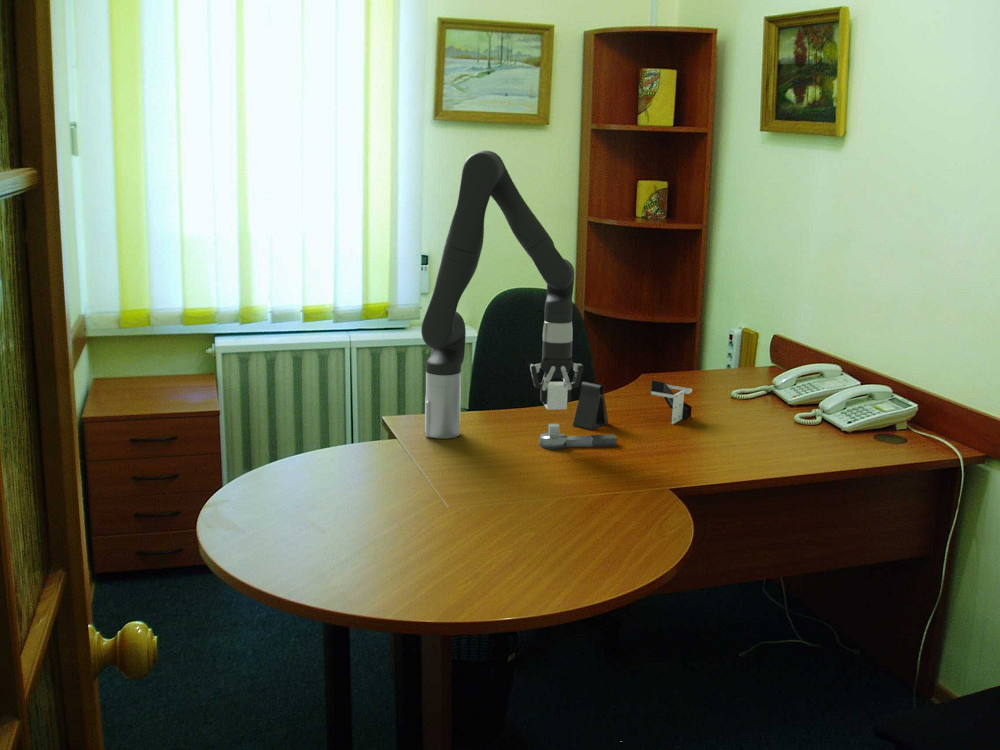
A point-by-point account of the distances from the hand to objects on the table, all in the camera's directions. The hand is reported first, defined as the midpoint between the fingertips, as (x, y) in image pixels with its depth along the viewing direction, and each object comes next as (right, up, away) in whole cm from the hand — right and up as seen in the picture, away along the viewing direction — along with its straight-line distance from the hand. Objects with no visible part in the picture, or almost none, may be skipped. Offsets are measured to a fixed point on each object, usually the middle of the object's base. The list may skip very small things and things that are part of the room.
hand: (555, 403), depth 245 cm
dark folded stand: (+11, -7, +22) cm, 26 cm away
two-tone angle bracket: (+35, -6, +30) cm, 47 cm away
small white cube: (0, -1, 0) cm, 1 cm away
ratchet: (+6, -11, +4) cm, 13 cm away
